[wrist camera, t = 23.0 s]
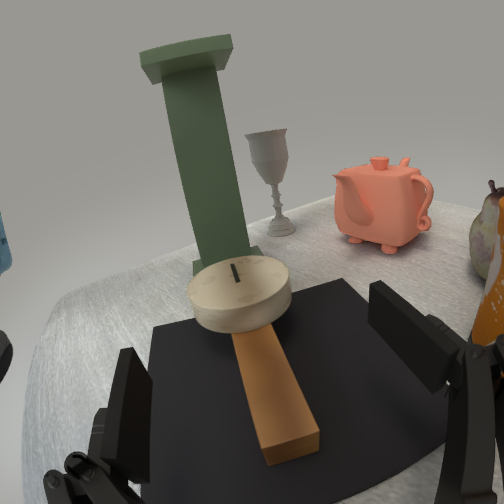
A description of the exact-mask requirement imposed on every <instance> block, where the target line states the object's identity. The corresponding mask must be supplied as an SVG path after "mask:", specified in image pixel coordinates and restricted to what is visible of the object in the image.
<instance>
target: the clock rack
mask: <svg viewBox="0 0 504 504" xmlns="http://www.w3.org/2000/svg"><path fill="white" fill-rule="evenodd" d="M232 50H233V44H232V39H231V35H230V34H227V35H219V36H211V37H205V38H199V39H194V40H188V41H183V42H178V43H173V44H169V45H165V46H161V47H156V48H153V49H149V50H145V51H142V52H140V53H139V55H140V63H141V67H142V69H143V70H144V72H145V73H146V75H147V76H148V78H149V80H150V81H151V83H152V84H153V85H154V84H157V83H161V82H162V86H163V92H164V98H165V104H166V109H167V114H168V119H169V124H170V130H171V134H172V140H173V144H174V149H175V154H176V158H177V163H178V168H179V172H180V177H181V181H182V186H183V190H184V193H185V198H186V202H187V207H188V211H189V214H190V219H191V223H192V226H193V231H194V234H195V238H196V242H197V246H198V250H199V253H200V257H201V259H200V260H196V261H193V277H194V276H195V275H196V274H198V273H199V272H200V271H202V270H203V269H205V268H207V267H209V266H211V265H213V264H215V263H218V262H221V261H224V260H227V259H231V258H235V257H241V256H264V255H263V254H262V252H261V250H260V249H259V247H258V246H253V247H250V244H249V239H248V233H247V228H246V223H245V218H244V213H243V208H242V202H241V197H240V193H239V187H238V182H237V176H236V171H235V166H234V161H233V155H232V151H231V145H230V141H229V135H228V129H227V124H226V119H225V114H224V109H223V103H222V98H221V93H220V88H219V83H218V77H217V72H216V71H219V70H224V69H225V66H226V64H227V62H228V59H229V57H230V55H231V52H232Z"/></svg>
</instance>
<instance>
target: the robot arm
mask: <svg viewBox="0 0 504 504" xmlns="http://www.w3.org/2000/svg"><path fill="white" fill-rule="evenodd" d="M11 265H12V257H11V253H10V249H9V246H8V242H7V239H6V235H5V231H4V226H3V222H2V218H1V213H0V275H1V274H2V273H3V272H5V271H6V270H8V269H9V268H10V267H11ZM367 322H368V323H369V325H370V326H371V327H372V328H373V329H374V330H375V331H376V332H377V333H378V334H379V335H380V336H381V338H382V339H383V340H384V341H385V342H386V343H387V344H388V345H389V346H390V347H391V349H392V350H393V351H394V352H395V353H396V354H397V355H398V356H399V357H400V359H401V360H402V361H403V362H404V363H405V364H406V365H407V366H408V368H409V369H410V370H411V371H412V372H413V373H414V374H415V376H416V377H417V378H418V379H419V380H420V381H421V382H422V384H423V385H424V386H425V387H426V388H427V389H428V391H429V392H430V393H431V394H432V395H433V394H434V393H436V392H437V391H439V390H440V389H442V388H443V387H444V385H445V383H446V381H447V380H448V381H449V382H450V385H449V387H448V389H447V391H446V393H445V396H444V397H446V396H447V394H448V393H449V402H448V421H447V432H446V442H445V450H444V457H443V463H442V469H441V474H440V479H439V484H438V489H437V493H436V497H435V501H434V504H497V495H496V493H495V492H493V491H492V482H493V473H494V462H495V437H496V442H497V447H498V452H499V458H500V464H501V471H502V479H503V490H504V377H503V376H502V372H503V374H504V334H500V335H498V336H497V338H496V340H495V342H494V343H493V344H491V345H488V346H485V347H484V346H482V345H480V344H476V343H475V344H470V345H469V344H468V343H467V342H466V341H465V340H463V339H462V338H461V337H460V336H459V335H458V334H457V333H455V332H454V331H453V330H452V329H450V328H449V327H448V326H447V325H446V324H444V322H442V321H441V320H440V319H439V318H437V317H435V316H432V315H430V314H429V315H427V316H424V315H423V314H421V313H420V312H419V311H418V310H417V309H416V308H414V307H413V306H412V305H411V304H410V303H408V302H407V301H406V300H405V299H403V298H402V297H401V296H400V295H399V294H397V293H396V292H395V291H394V290H392V289H391V288H390V287H389V286H387V285H386V284H385V283H384V282H382V281H381V280H379V281H376V282H374V283H371V284H370V288H369V305H368V319H367ZM152 389H153V380H152V379H151V377H150V376H149V374H148V372H147V371H146V369H145V367H144V365H143V364H142V362H141V360H140V358H139V357H138V355H137V353H136V351H135V350H134V348H133V347H130V348H125V349H121V350H120V354H119V358H118V362H117V366H116V370H115V374H114V379H113V383H112V388H111V392H110V397H109V402H108V408H99V410H98V412H97V413H96V415H95V417H94V421H93V427H92V431H91V433H92V434H91V437H90V443H89V449H88V455H85V454H84V453H82V452H73V453H71V454H69V455H68V456H67V458H66V460H65V462H64V468H65V471H66V472H67V474H62V473H61V472H59V471H57V470H50V471H48V472H47V473H46V474H45V475H44V479H43V485H44V489H45V493H46V497H47V500H48V504H146V503H145V502H144V501H143V500H142V499H141V498H140V497H139V496H138V495H137V494H136V493H135V492H134V491H133V489H132V488H131V487H129V486H128V479H129V480H130V481H131V482H133V483H134V484H150V424H151V404H152Z"/></svg>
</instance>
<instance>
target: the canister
mask: <svg viewBox="0 0 504 504" xmlns="http://www.w3.org/2000/svg"><path fill="white" fill-rule="evenodd" d="M500 334H504V196H503V197H502V198H501V199H500V200H499V207H498V217H497V226H496V233H495V240H494V246H493V252H492V257H491V263H490V267H489V272H488V276H487V280H486V285H485V288H484V292H483V296H482V299H481V303H480V306H479V310H478V313H477V316H476V319H475V322H474V325H473V329H472V331H471V333H470V336H469V339H468V342H467V343H468V344H469V345H470V344H475V343H476V344H480V345H482V346H484V347H485V346H488V345H491V344H493V343H494V342H495V340H496V338H497V336H498V335H500ZM502 376H503V377H504V374H503V372H502Z"/></svg>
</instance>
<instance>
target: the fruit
mask: <svg viewBox="0 0 504 504" xmlns="http://www.w3.org/2000/svg"><path fill="white" fill-rule="evenodd" d="M488 184H489V186H490V188H491V191H492V193H491V194H489V195H488V196H487V197H486V198H485V201H484V204H483V208H482V211H481V212H480V214H479V215H478V216H477V217H476V218H475V220H474V221H473V223H472V226H471V228H470V233H469V243H470V255H471V259H472V262H473V265H474V268H475V270H476V271H477V273H478V274H479V275H480V276H481V277H482V278H483V279H485V280H487V276H488V272H489V267H490V263H491V257H492V252H493V246H494V240H495V233H496V226H497V217H498V207H499V200H500V199H501V198H502V197H503V196H504V188H503V187H501V188H498V189H496V188H495V185H494V181H493V180H490V181H489V182H488Z"/></svg>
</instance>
